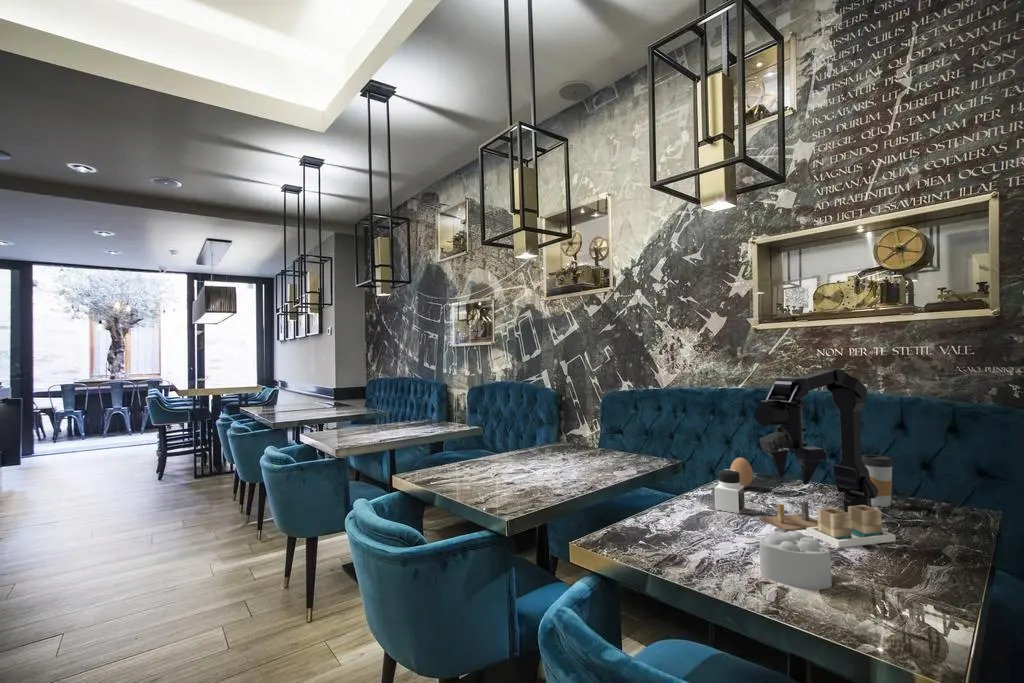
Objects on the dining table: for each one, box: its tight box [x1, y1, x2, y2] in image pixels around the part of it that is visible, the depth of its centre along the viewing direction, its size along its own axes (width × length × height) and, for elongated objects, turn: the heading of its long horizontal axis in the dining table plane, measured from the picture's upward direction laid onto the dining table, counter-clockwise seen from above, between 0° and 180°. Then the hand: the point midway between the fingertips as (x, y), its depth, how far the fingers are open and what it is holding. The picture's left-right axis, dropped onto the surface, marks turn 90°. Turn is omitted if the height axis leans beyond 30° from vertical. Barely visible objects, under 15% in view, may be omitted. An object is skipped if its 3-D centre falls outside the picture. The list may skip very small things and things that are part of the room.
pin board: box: [758, 501, 818, 532], centre depth 139 cm, size 14×10×6 cm
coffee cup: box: [861, 454, 894, 508], centre depth 156 cm, size 8×8×15 cm
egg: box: [729, 457, 754, 489], centre depth 178 cm, size 8×8×11 cm
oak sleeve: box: [816, 507, 852, 540], centre depth 126 cm, size 5×5×7 cm
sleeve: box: [848, 505, 883, 537], centre depth 128 cm, size 5×5×7 cm
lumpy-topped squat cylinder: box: [759, 530, 833, 590], centre depth 107 cm, size 10×13×9 cm
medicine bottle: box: [714, 468, 746, 514], centre depth 154 cm, size 7×7×12 cm
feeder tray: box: [805, 527, 897, 549], centre depth 127 cm, size 17×10×2 cm, turn 102°
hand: (792, 480), depth 136 cm, fingers open, 9 cm apart
